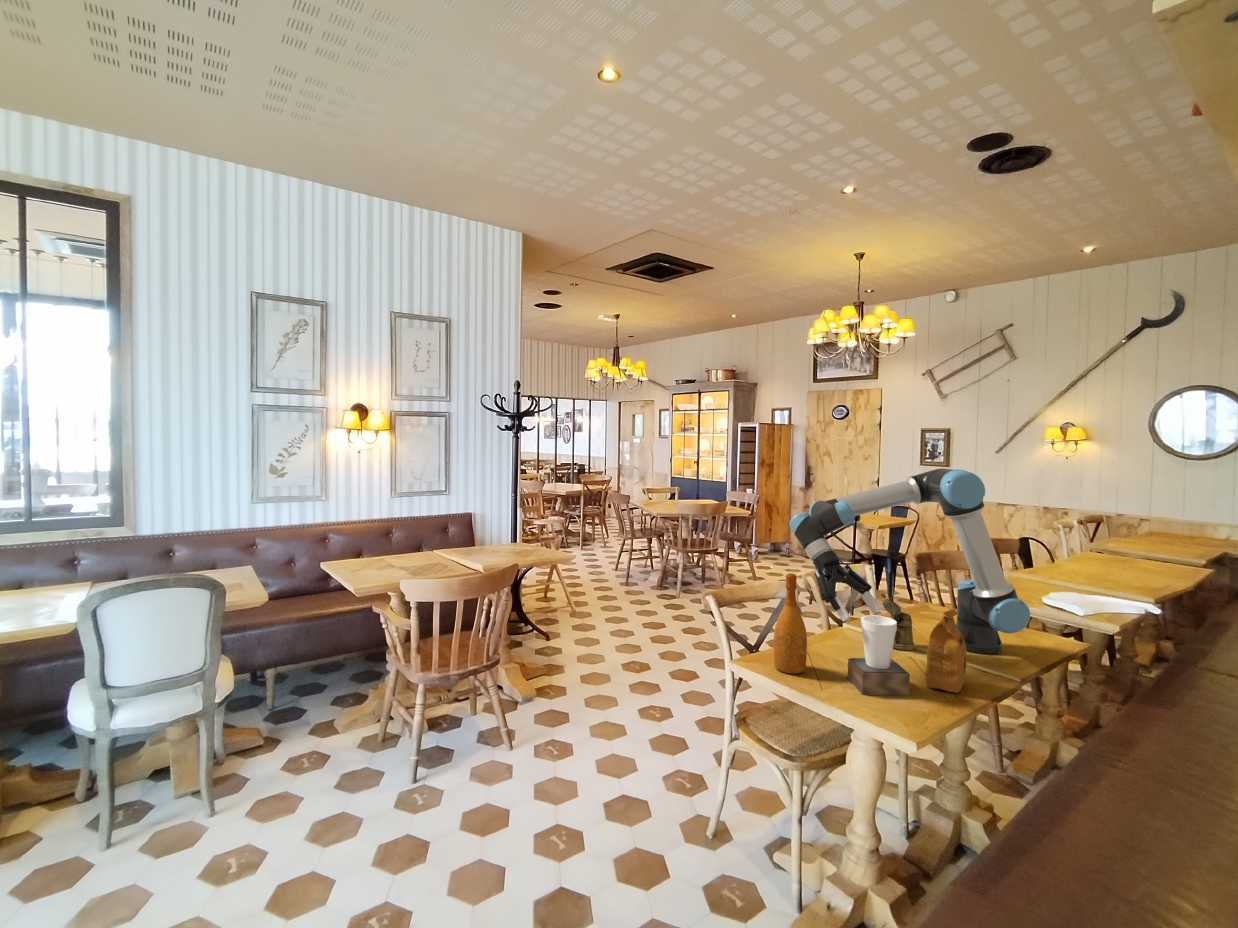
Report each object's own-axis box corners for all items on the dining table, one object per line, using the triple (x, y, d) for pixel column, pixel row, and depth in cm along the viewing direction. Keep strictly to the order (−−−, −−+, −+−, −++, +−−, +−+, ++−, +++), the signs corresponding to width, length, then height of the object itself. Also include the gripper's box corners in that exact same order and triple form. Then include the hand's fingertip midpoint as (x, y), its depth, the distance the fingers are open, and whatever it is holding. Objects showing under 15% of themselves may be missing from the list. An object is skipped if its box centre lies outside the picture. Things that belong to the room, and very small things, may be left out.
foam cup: (900, 664, 167) (901, 620, 166) (889, 673, 160) (890, 627, 160) (866, 655, 173) (867, 613, 173) (855, 664, 167) (855, 620, 166)
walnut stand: (891, 678, 172) (892, 657, 172) (909, 695, 161) (909, 672, 161) (847, 678, 173) (848, 657, 172) (862, 694, 162) (862, 671, 161)
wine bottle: (801, 677, 173) (803, 578, 171) (769, 670, 178) (770, 574, 177) (809, 667, 181) (811, 572, 180) (778, 660, 186) (780, 568, 185)
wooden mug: (873, 647, 198) (874, 596, 197) (894, 639, 206) (895, 590, 205) (899, 655, 191) (900, 602, 190) (919, 647, 199) (920, 595, 198)
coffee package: (971, 684, 168) (973, 610, 167) (959, 697, 160) (961, 619, 159) (934, 674, 175) (936, 603, 174) (920, 687, 167) (922, 611, 166)
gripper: (842, 558, 191) (881, 615, 179) (787, 567, 179) (825, 628, 167) (856, 545, 186) (897, 603, 174) (800, 553, 174) (840, 615, 162)
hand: (862, 615), depth 170 cm, fingers open, 13 cm apart
